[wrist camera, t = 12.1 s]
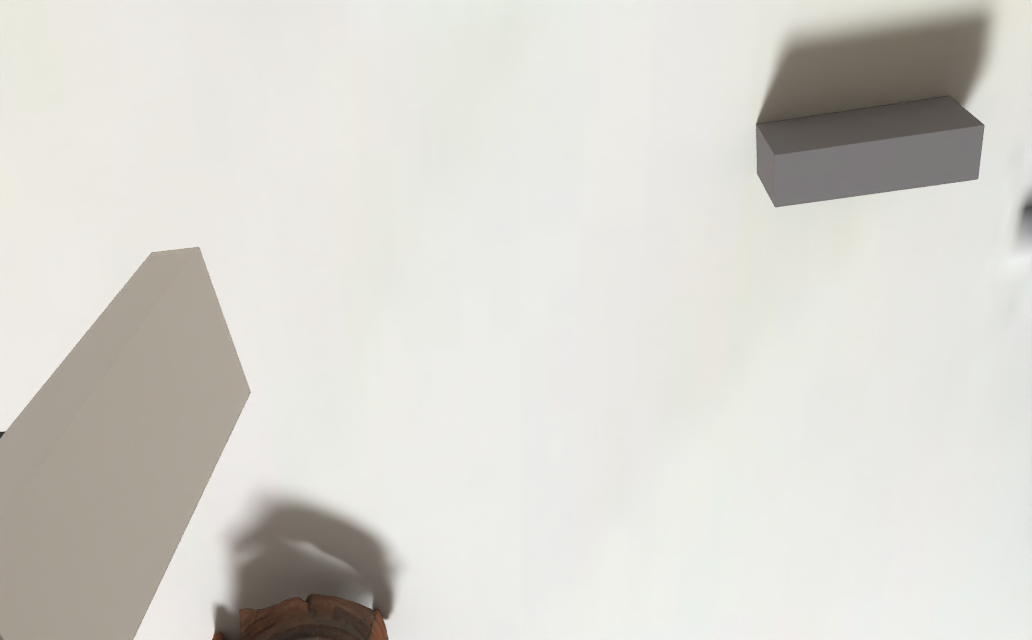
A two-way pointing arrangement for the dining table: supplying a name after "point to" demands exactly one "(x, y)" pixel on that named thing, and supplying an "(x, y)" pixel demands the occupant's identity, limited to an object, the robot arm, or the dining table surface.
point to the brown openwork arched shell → (312, 621)
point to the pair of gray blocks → (868, 151)
